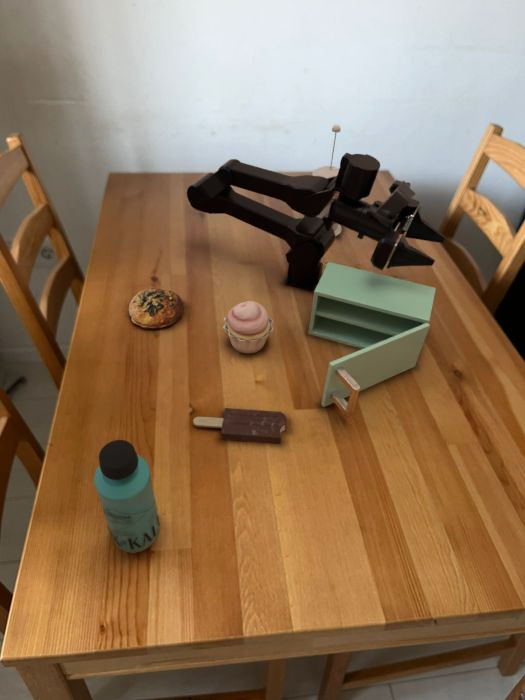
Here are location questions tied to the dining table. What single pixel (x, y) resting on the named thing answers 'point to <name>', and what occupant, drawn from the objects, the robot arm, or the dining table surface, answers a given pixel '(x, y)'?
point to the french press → (327, 173)
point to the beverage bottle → (127, 496)
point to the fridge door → (371, 367)
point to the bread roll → (155, 308)
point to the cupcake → (248, 327)
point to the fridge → (366, 306)
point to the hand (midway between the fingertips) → (439, 251)
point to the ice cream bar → (247, 425)
